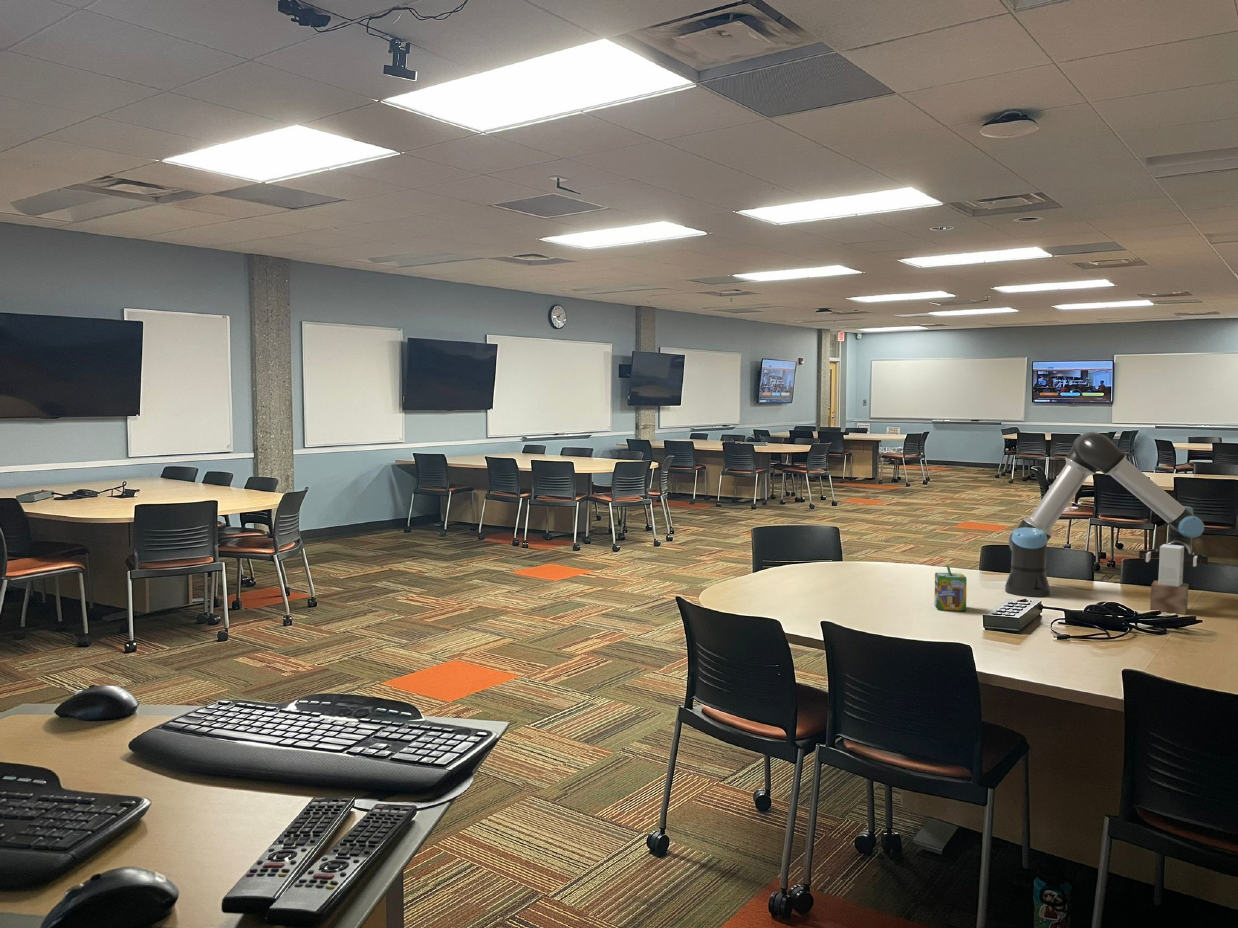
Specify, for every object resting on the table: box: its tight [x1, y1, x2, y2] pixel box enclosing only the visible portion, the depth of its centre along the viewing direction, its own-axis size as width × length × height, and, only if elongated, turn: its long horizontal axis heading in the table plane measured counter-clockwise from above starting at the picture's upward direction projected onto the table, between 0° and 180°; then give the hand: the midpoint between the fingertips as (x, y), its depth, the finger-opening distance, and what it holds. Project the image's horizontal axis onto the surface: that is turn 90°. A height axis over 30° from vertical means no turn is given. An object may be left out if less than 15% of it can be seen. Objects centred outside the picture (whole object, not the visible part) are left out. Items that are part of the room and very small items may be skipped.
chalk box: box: [933, 563, 967, 612], centre depth 306 cm, size 9×9×15 cm
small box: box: [1157, 543, 1184, 587], centre depth 306 cm, size 8×6×13 cm
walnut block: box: [1149, 580, 1189, 616], centre depth 307 cm, size 10×10×9 cm
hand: (1170, 560), depth 303 cm, fingers open, 13 cm apart
